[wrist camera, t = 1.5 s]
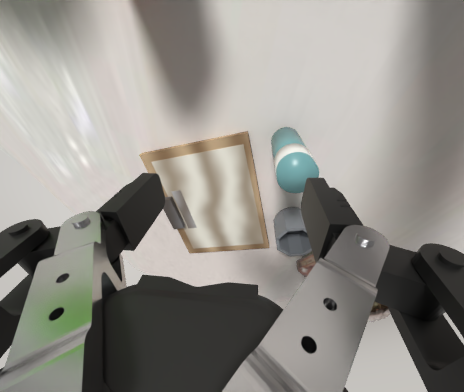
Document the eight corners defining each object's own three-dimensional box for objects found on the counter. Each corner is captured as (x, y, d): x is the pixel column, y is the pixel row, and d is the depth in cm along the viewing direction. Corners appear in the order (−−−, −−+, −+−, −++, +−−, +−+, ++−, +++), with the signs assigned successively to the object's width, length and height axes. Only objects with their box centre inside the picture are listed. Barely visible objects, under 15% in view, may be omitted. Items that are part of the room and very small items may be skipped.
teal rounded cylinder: (297, 121, 27) (319, 153, 17) (298, 148, 29) (319, 190, 19) (268, 127, 28) (274, 160, 18) (272, 152, 30) (278, 195, 20)
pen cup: (309, 205, 34) (316, 226, 29) (309, 231, 37) (316, 254, 33) (272, 209, 35) (274, 230, 31) (276, 234, 39) (278, 256, 34)
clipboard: (247, 131, 28) (247, 135, 27) (268, 244, 41) (269, 252, 39) (141, 153, 32) (135, 157, 31) (190, 250, 45) (188, 257, 43)
